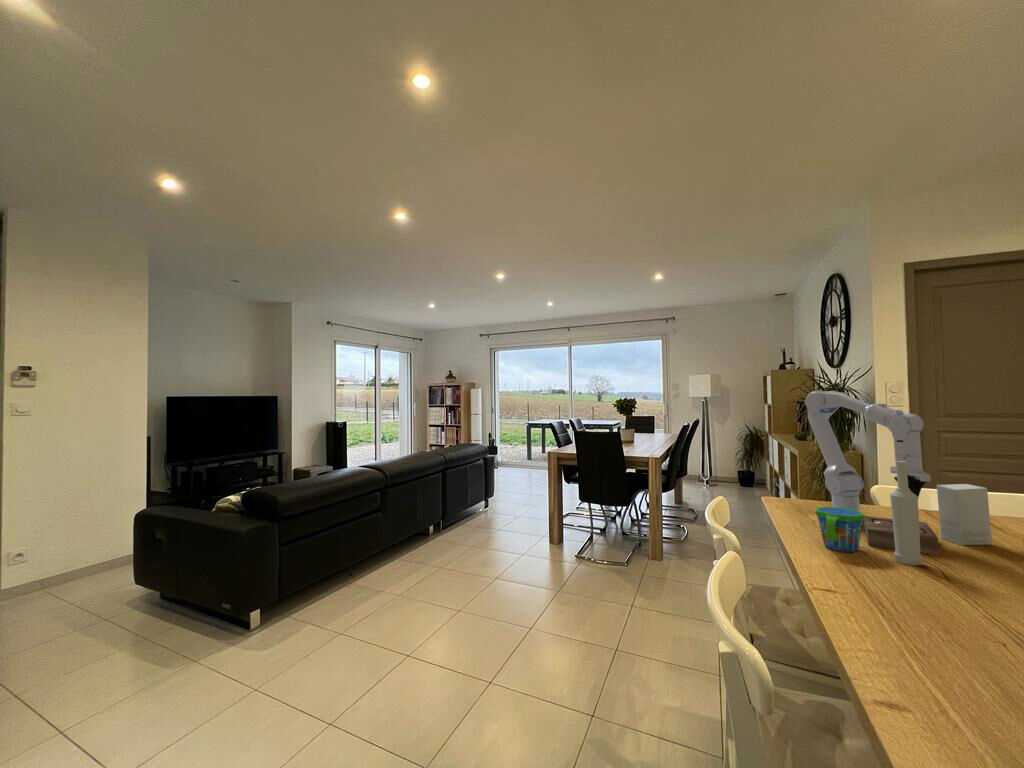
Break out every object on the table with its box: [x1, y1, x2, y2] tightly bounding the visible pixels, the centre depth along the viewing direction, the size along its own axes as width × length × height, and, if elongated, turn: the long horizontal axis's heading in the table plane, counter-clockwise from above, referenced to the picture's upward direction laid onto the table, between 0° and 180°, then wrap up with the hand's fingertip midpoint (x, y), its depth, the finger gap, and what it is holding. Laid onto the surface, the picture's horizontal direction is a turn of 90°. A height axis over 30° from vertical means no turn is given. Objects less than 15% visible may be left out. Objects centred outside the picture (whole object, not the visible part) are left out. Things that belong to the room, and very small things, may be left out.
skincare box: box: [936, 483, 993, 546], centre depth 118 cm, size 8×7×16 cm
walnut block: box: [863, 515, 940, 556], centre depth 120 cm, size 16×14×4 cm
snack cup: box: [814, 506, 865, 553], centre depth 116 cm, size 16×10×10 cm
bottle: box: [889, 461, 923, 566], centre depth 106 cm, size 5×5×25 cm
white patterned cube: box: [873, 520, 892, 525], centre depth 124 cm, size 4×4×4 cm
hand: (911, 502), depth 122 cm, fingers closed
